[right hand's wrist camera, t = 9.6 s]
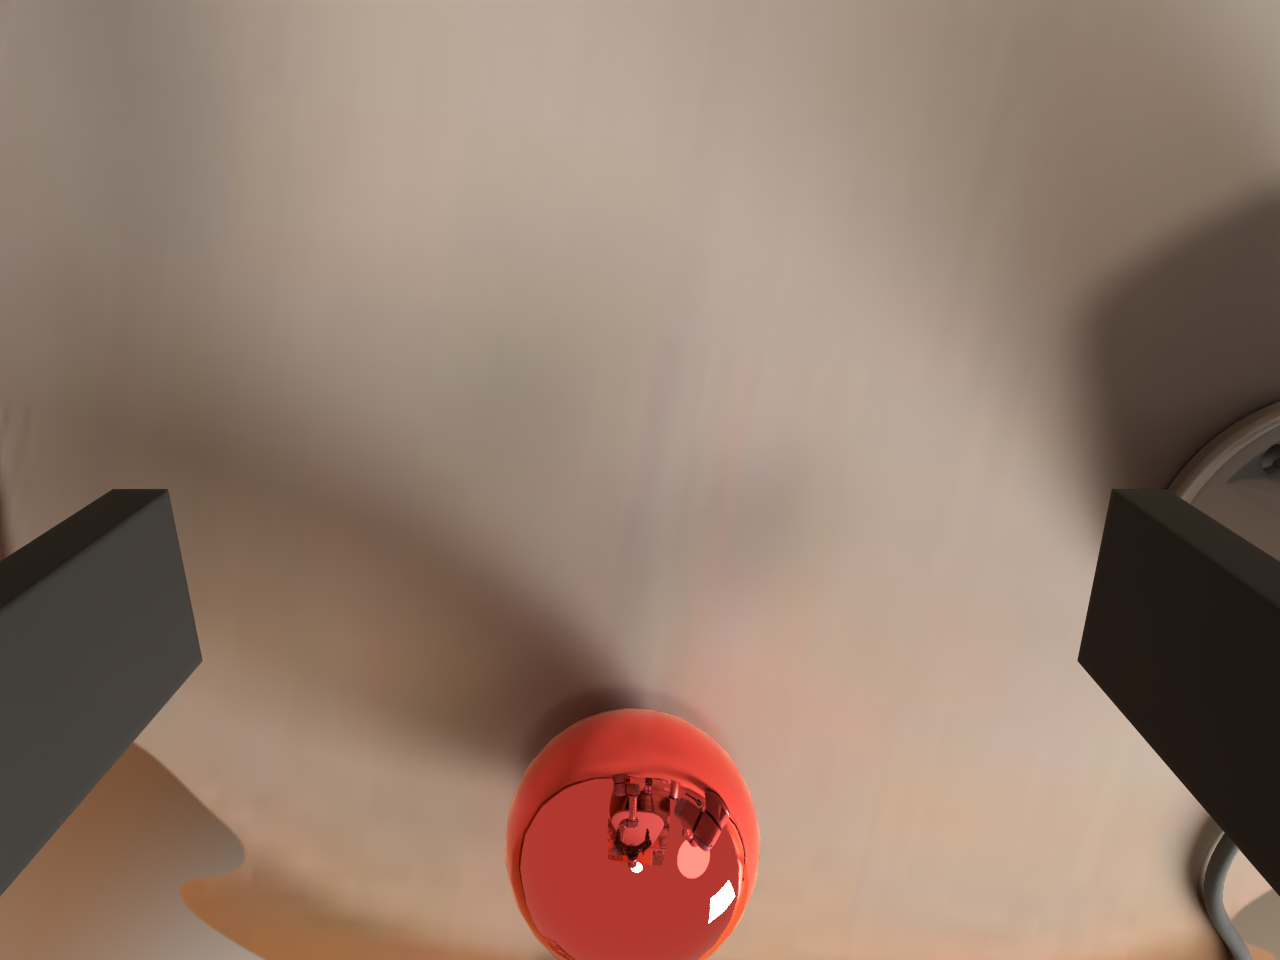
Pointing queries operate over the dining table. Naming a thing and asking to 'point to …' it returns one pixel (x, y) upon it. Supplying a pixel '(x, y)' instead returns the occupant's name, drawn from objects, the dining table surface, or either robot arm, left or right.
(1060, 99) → the dining table surface
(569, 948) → the ball
